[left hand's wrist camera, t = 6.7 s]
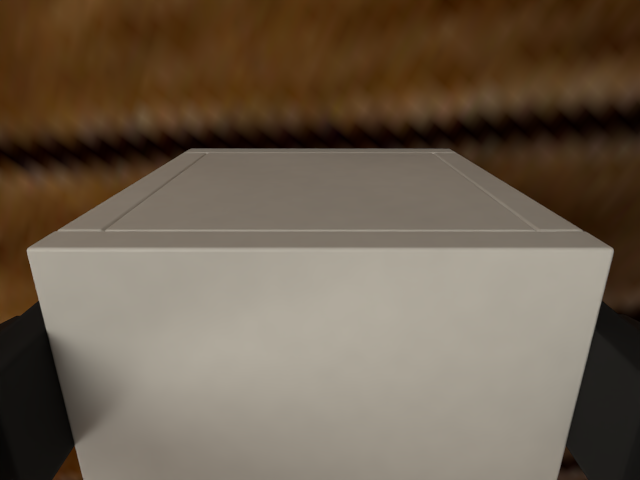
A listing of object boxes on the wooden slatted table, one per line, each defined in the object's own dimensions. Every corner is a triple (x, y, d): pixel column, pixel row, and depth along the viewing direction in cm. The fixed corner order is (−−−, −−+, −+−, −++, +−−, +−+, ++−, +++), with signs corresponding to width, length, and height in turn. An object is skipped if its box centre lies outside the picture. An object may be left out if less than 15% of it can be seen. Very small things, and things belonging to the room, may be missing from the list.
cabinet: (417, 478, 23) (486, 768, 13) (222, 478, 23) (154, 768, 13) (451, 148, 17) (617, 248, 8) (189, 148, 17) (24, 248, 8)
